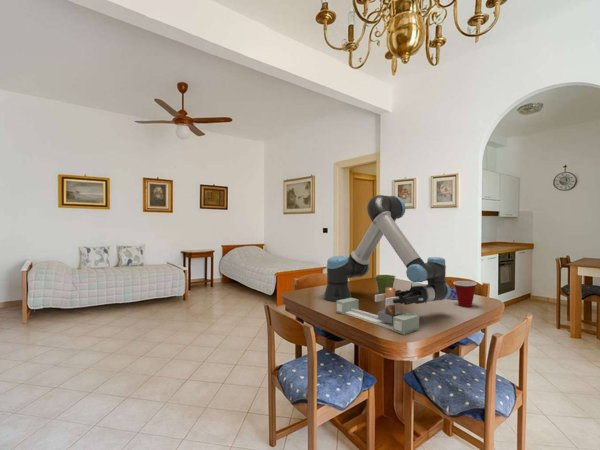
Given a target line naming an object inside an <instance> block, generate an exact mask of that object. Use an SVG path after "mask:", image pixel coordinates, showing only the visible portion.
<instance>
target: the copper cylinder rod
mask: <svg viewBox="0 0 600 450" xmlns="http://www.w3.org/2000/svg"><path fill="white" fill-rule="evenodd" d="M395 291H396V288H395V287H393V288H391V287H387V288H385V298H391V297H395ZM384 307H385V309H384V310H380V311H377V315H378V319H379V320H382V321H386V322H389V323H393V317H395V316H399V315H402V314H404V313H403V312H400V311H396V304H394V305H385V304H384Z"/></svg>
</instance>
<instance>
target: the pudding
mask: <svg viewBox="0 0 600 450" xmlns="http://www.w3.org/2000/svg"><path fill="white" fill-rule="evenodd" d="M449 288H450V289H451V294H450V296H449V297H448V298H447V299H448V300H458V298H457V293H456V289H455V288H454V287H449ZM447 299H446V300H447Z"/></svg>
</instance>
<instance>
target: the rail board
mask: <svg viewBox="0 0 600 450" xmlns="http://www.w3.org/2000/svg"><path fill="white" fill-rule="evenodd" d="M359 300H360V299H357V298H354V297H351V298H347V299H342V300H337V301H335V302H336V303H335V305H336V306H335V307H336V308H335V309H336V311H335V312H336V313H338V314H340V315H344V316H345V315H346V316H349V317H352V318H356V319H357V320H358V319H359V320H361V321H365V322H367V323H371V324H374V325H376V326H380V327H383V328H385V329H389V330H392V331H393V332H394V333H398V334H400V335H403V336H404V335H407V334H411V333H414V332H416V331H419V330H420V315H418V314H415V313H410V312H406V313H403V314H402V315H399V316H395V317H393V323H389V322H386V321H382V320H379V319H378V314H374V313H371V312H367V311H364V310H360V309H359V308H360V307H359V304H360V303H359V302H360V301H359Z"/></svg>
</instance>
